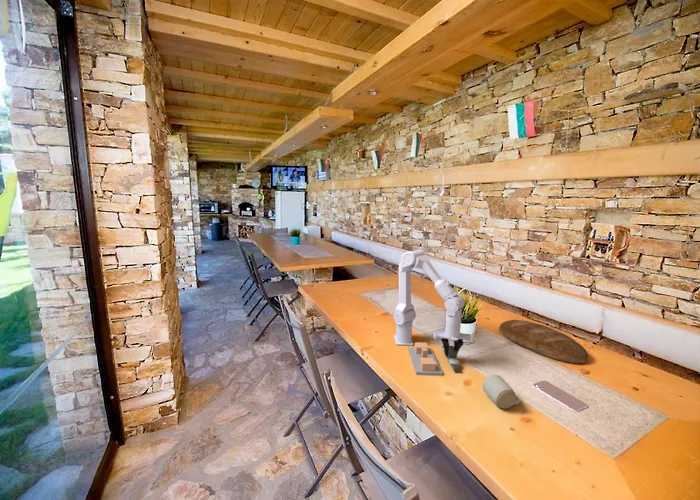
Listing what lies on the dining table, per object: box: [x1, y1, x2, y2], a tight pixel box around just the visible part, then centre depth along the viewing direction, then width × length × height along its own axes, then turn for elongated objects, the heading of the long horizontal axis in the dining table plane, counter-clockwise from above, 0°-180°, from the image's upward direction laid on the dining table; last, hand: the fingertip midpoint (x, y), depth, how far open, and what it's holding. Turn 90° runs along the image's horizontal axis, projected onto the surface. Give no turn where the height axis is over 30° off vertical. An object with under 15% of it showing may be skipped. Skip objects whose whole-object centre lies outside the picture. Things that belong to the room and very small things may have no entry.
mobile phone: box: [532, 380, 589, 412], centre depth 102 cm, size 8×1×15 cm
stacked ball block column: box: [441, 344, 461, 373], centre depth 122 cm, size 17×4×5 cm, turn 178°
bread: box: [498, 319, 589, 365], centre depth 137 cm, size 22×37×8 cm, turn 29°
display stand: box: [407, 341, 444, 376], centre depth 121 cm, size 19×10×5 cm, turn 178°
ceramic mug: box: [482, 374, 521, 410], centre depth 98 cm, size 11×8×8 cm
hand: (450, 355), depth 122 cm, fingers closed on stacked ball block column, 3 cm apart
